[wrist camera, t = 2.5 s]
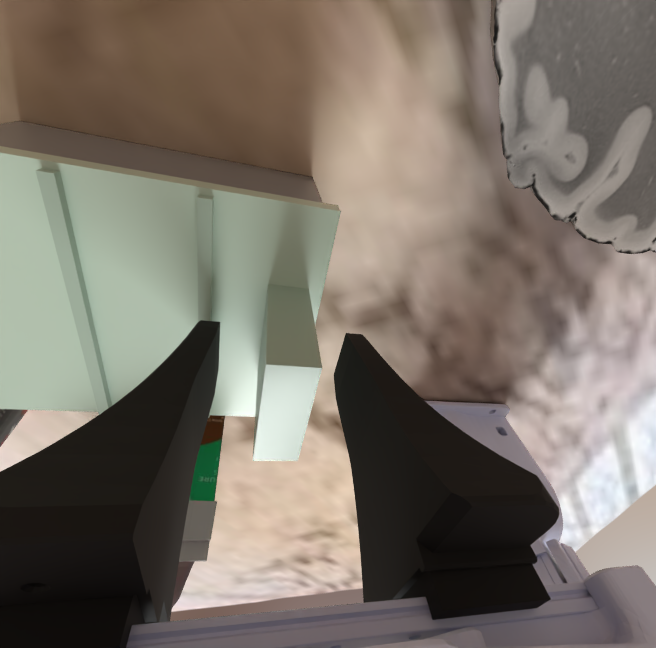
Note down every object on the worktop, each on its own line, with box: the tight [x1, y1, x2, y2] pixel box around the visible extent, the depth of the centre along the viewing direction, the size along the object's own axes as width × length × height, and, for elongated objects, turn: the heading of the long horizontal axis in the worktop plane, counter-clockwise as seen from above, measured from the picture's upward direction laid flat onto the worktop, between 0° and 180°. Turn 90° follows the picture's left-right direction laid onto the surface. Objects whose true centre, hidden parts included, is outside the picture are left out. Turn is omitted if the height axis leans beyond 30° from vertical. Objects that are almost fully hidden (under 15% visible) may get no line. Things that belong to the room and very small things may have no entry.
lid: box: [0, 146, 341, 461], centre depth 10 cm, size 12×10×5 cm
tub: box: [0, 121, 323, 203], centre depth 14 cm, size 11×9×5 cm
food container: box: [172, 415, 225, 607], centre depth 19 cm, size 12×6×10 cm, turn 156°
